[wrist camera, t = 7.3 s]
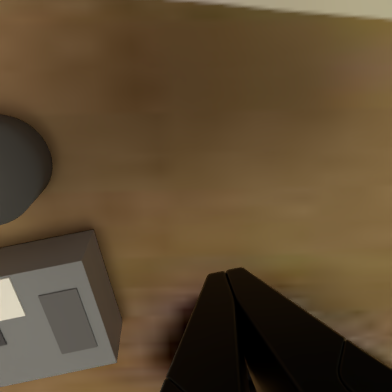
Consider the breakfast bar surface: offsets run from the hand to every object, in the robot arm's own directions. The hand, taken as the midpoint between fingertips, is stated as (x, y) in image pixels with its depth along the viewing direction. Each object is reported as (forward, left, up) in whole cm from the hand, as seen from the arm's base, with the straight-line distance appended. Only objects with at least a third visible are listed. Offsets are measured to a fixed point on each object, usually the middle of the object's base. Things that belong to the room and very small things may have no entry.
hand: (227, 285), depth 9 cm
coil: (+2, +10, -13) cm, 16 cm away
